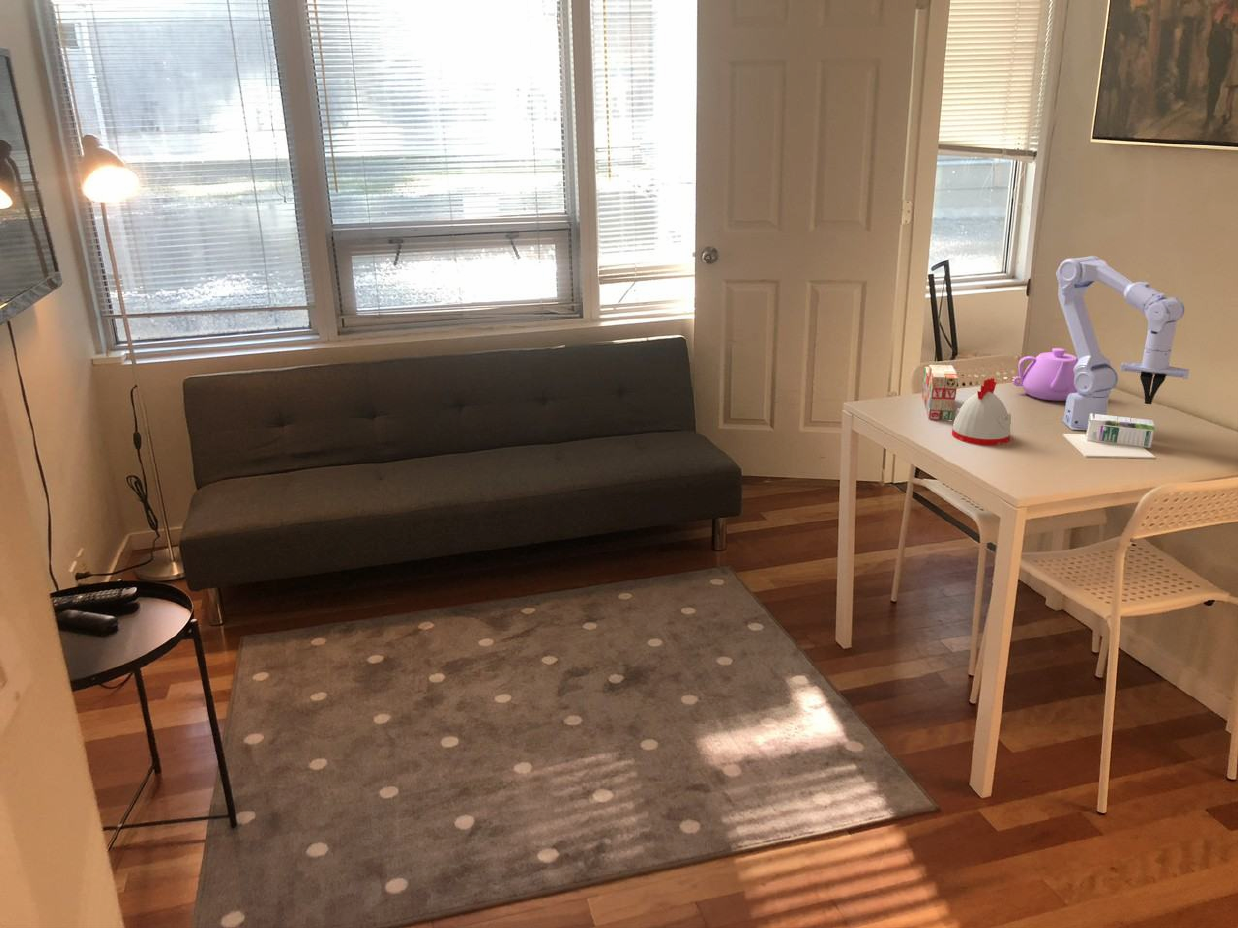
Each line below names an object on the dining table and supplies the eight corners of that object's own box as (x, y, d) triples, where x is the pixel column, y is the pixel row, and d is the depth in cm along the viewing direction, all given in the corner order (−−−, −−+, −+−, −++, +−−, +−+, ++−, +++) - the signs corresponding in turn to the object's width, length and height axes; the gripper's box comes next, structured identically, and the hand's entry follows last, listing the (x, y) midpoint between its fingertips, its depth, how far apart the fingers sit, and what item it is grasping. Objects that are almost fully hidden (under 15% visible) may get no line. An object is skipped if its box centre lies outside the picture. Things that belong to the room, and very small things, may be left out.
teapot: (1018, 406, 271) (1025, 358, 266) (1007, 385, 291) (1013, 340, 286) (1103, 411, 266) (1112, 362, 262) (1086, 389, 286) (1093, 343, 281)
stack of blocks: (921, 397, 280) (925, 356, 276) (944, 398, 279) (948, 357, 275) (928, 420, 260) (933, 375, 256) (953, 421, 259) (958, 377, 255)
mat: (1085, 457, 233) (1085, 455, 233) (1062, 435, 248) (1063, 433, 248) (1155, 458, 232) (1155, 457, 231) (1128, 436, 246) (1128, 435, 246)
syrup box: (1151, 448, 237) (1085, 441, 242) (1149, 441, 242) (1085, 434, 248) (1155, 426, 235) (1089, 419, 240) (1153, 419, 240) (1089, 412, 245)
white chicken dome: (1018, 436, 248) (1027, 379, 242) (993, 449, 239) (1002, 390, 233) (967, 424, 257) (974, 369, 252) (941, 436, 248) (948, 379, 243)
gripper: (1193, 348, 233) (1182, 403, 238) (1126, 342, 241) (1117, 395, 245) (1191, 355, 228) (1181, 410, 232) (1123, 348, 235) (1114, 401, 240)
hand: (1148, 403), depth 239 cm, fingers closed
